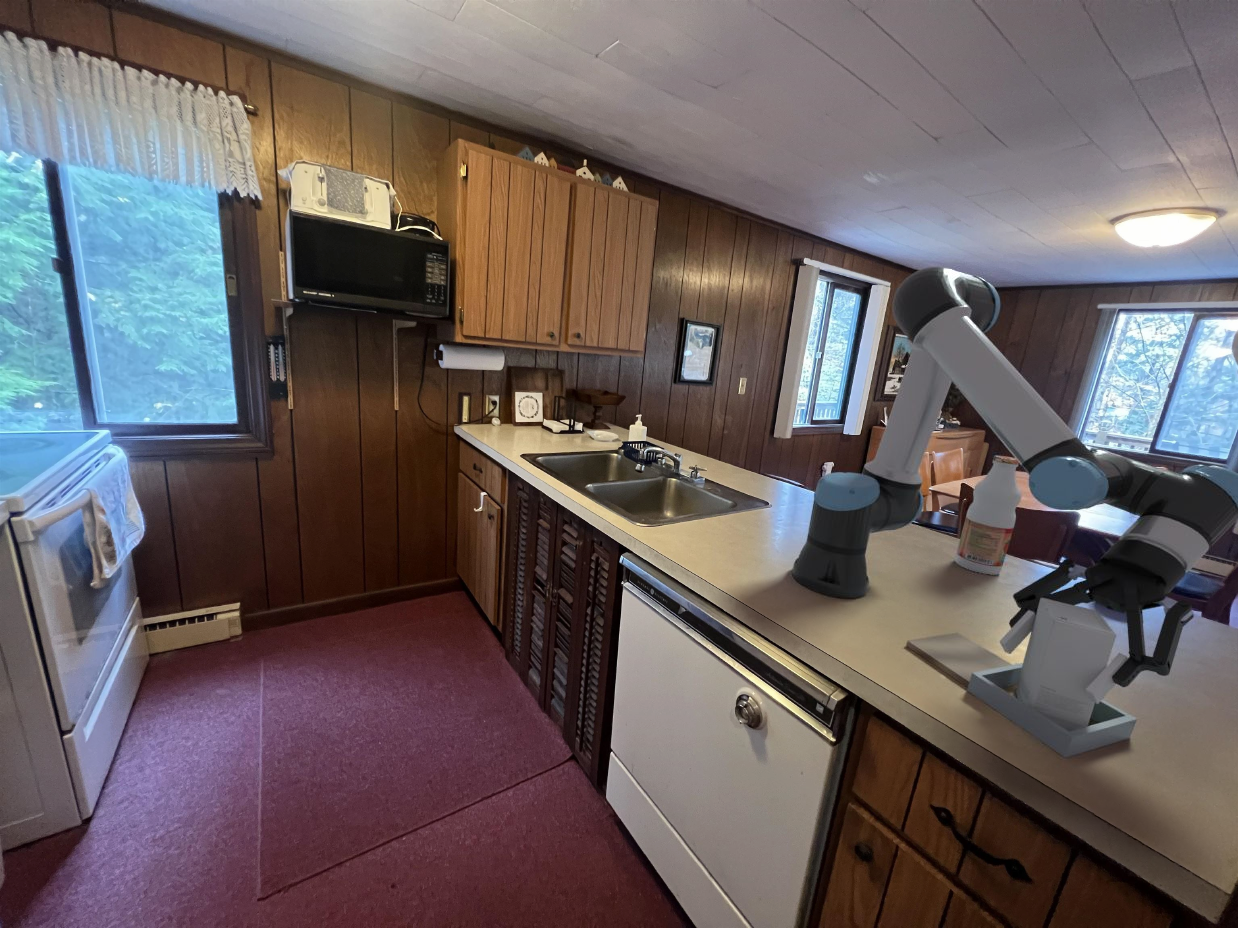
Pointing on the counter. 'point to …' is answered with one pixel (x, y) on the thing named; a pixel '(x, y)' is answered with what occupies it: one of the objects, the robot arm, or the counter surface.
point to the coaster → (956, 655)
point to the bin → (1066, 743)
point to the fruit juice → (990, 519)
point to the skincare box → (1064, 662)
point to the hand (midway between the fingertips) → (1044, 670)
